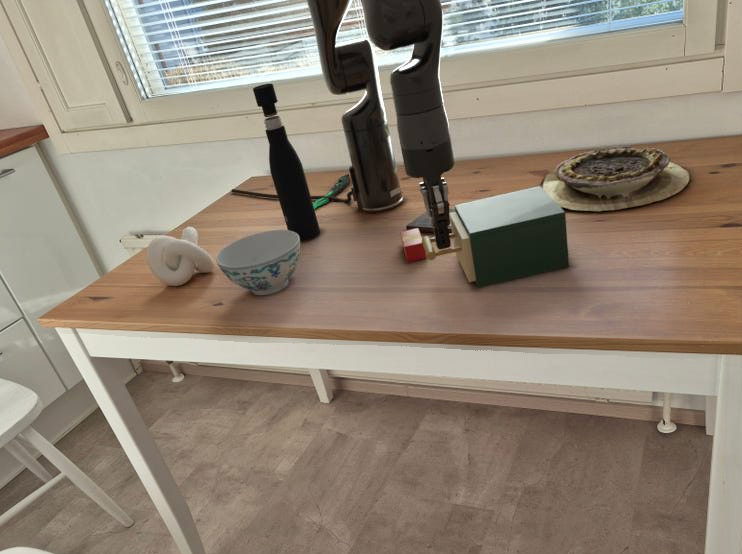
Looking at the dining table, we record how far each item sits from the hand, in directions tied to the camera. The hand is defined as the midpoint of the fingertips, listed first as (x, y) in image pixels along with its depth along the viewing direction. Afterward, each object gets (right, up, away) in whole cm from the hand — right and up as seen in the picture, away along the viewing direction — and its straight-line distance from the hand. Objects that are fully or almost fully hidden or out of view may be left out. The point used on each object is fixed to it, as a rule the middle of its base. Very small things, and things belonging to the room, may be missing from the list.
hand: (443, 246), depth 109 cm
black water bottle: (-27, +8, +33) cm, 43 cm away
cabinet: (+12, -2, +3) cm, 12 cm away
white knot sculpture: (-49, -1, +26) cm, 56 cm away
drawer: (+7, -2, +2) cm, 8 cm away
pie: (+34, +16, +22) cm, 43 cm away
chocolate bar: (+4, +8, +21) cm, 23 cm away
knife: (-23, +22, +54) cm, 62 cm away
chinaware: (-30, -5, +13) cm, 34 cm away
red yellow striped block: (-4, +1, +13) cm, 14 cm away
